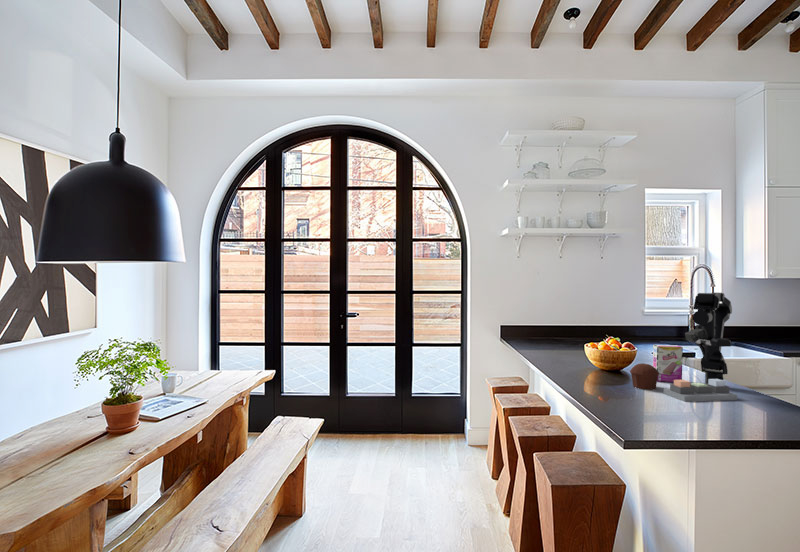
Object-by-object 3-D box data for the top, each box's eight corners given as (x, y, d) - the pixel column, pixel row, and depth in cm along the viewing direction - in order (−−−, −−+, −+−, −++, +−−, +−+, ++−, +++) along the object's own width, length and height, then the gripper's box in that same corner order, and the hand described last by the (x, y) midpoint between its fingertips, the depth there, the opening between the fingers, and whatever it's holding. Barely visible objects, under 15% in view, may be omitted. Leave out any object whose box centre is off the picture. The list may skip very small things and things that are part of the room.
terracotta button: (673, 387, 186) (673, 379, 186) (683, 387, 187) (683, 379, 187) (680, 389, 182) (680, 382, 182) (690, 389, 183) (690, 381, 183)
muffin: (663, 391, 194) (663, 367, 194) (634, 390, 196) (634, 366, 196) (653, 384, 206) (653, 362, 206) (626, 383, 208) (626, 361, 208)
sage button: (691, 390, 187) (691, 383, 187) (700, 390, 187) (700, 382, 187) (698, 393, 183) (698, 385, 183) (707, 392, 183) (707, 385, 184)
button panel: (663, 393, 190) (663, 382, 190) (713, 392, 192) (713, 381, 192) (684, 401, 178) (684, 389, 178) (737, 399, 180) (737, 388, 180)
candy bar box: (657, 382, 211) (657, 346, 211) (652, 379, 216) (652, 344, 216) (683, 382, 210) (683, 346, 210) (677, 380, 215) (677, 344, 215)
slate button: (708, 386, 188) (708, 379, 188) (717, 386, 188) (717, 378, 188) (716, 388, 184) (716, 381, 184) (725, 388, 184) (725, 380, 184)
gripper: (673, 321, 202) (673, 357, 202) (706, 325, 183) (706, 365, 183) (697, 320, 203) (697, 356, 203) (732, 325, 184) (731, 364, 184)
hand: (706, 360), depth 193 cm, fingers closed
